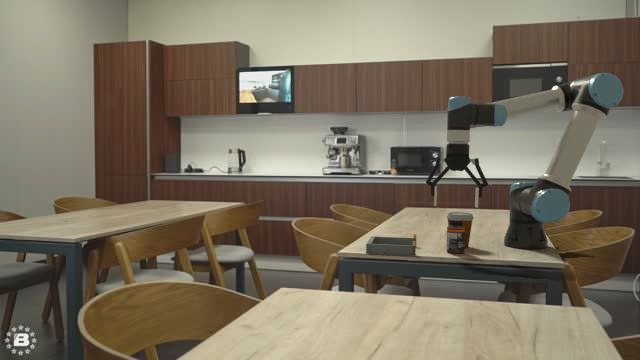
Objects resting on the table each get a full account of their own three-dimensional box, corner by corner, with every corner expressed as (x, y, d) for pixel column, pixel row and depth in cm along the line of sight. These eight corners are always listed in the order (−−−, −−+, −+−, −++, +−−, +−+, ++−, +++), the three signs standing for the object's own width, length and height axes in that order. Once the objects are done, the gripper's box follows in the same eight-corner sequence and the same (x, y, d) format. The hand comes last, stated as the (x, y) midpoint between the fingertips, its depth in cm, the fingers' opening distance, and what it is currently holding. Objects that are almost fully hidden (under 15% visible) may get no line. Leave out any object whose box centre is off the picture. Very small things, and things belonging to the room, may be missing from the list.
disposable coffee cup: (440, 245, 212) (441, 212, 212) (461, 243, 217) (462, 211, 216) (457, 249, 204) (457, 215, 203) (478, 248, 208) (479, 214, 207)
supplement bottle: (453, 250, 202) (454, 218, 201) (468, 253, 198) (468, 219, 197) (442, 252, 198) (443, 219, 197) (457, 255, 194) (458, 221, 193)
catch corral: (416, 246, 210) (416, 234, 210) (415, 255, 192) (415, 241, 192) (370, 244, 213) (371, 232, 212) (366, 252, 195) (366, 239, 195)
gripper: (495, 144, 197) (492, 206, 198) (420, 142, 202) (418, 203, 203) (498, 143, 190) (495, 209, 191) (420, 142, 194) (418, 205, 195)
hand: (455, 206), depth 197 cm, fingers open, 13 cm apart
